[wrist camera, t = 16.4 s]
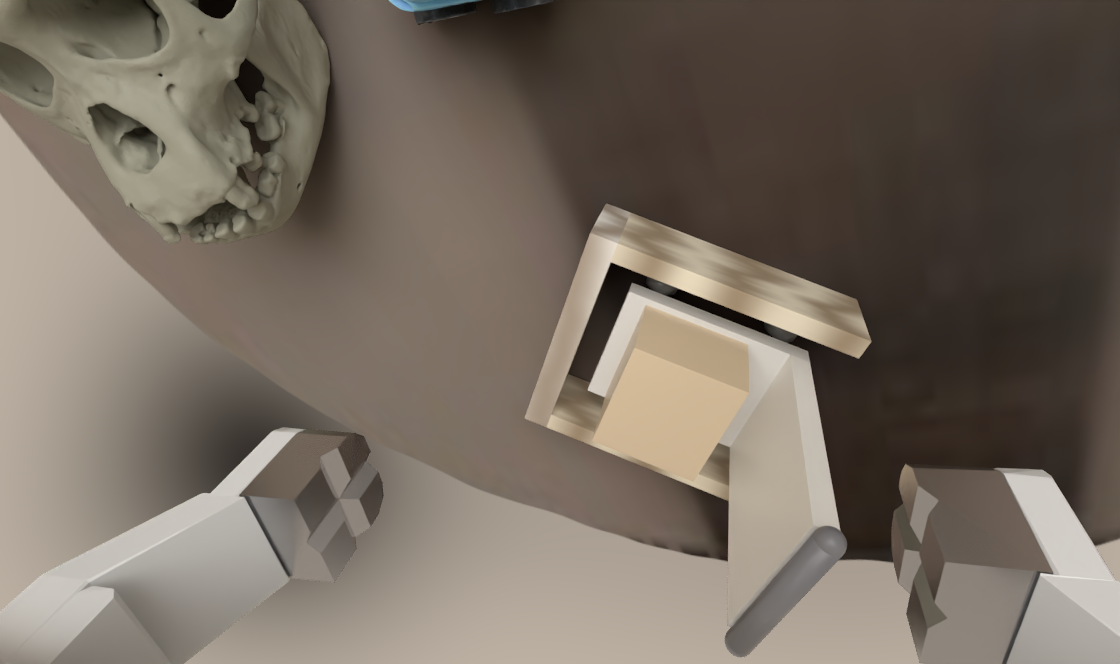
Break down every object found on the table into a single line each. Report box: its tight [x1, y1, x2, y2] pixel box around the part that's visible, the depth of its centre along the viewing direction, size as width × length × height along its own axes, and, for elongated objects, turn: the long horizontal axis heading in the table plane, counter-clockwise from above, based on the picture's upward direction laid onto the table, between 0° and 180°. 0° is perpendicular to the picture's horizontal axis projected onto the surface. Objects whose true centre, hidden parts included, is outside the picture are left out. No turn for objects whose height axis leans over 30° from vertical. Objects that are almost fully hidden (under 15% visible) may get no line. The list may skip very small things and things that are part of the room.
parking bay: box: [525, 203, 871, 501], centre depth 48 cm, size 20×18×6 cm
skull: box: [0, 0, 330, 244], centre depth 39 cm, size 18×21×28 cm
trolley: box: [588, 277, 847, 657], centre depth 41 cm, size 14×12×22 cm
